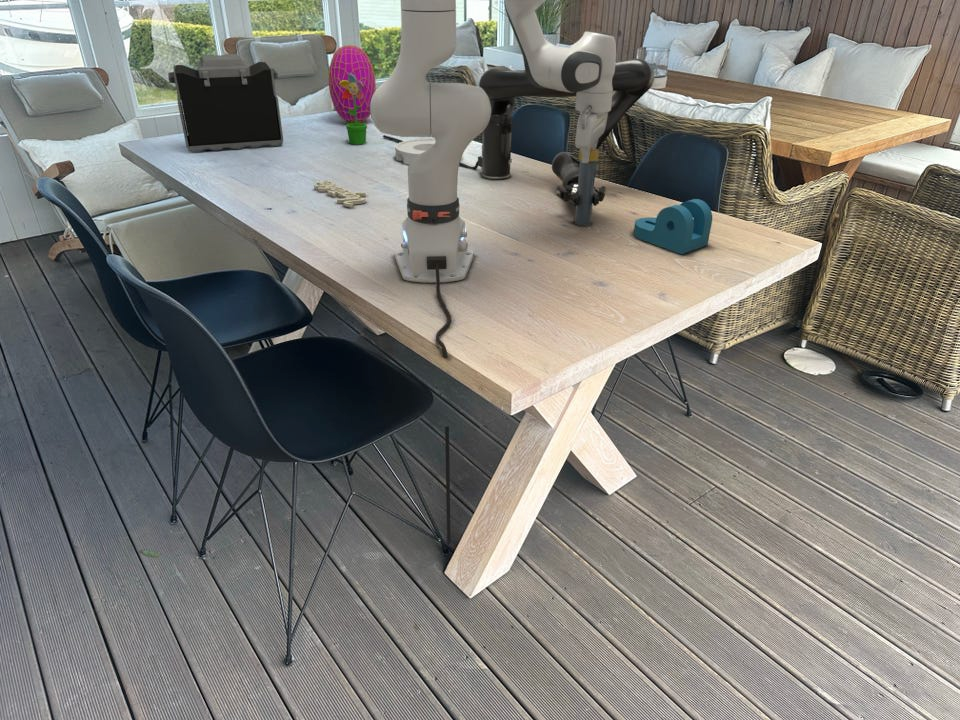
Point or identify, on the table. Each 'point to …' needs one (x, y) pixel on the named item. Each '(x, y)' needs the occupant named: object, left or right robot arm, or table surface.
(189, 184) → the table surface
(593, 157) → the lid
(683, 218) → the camera mount
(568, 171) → the right robot arm
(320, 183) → the decorative sign
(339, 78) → the decorative egg
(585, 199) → the grey long cylinder
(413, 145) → the ashtray
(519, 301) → the table surface
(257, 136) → the electronic device
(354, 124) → the potted flower
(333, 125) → the table surface
